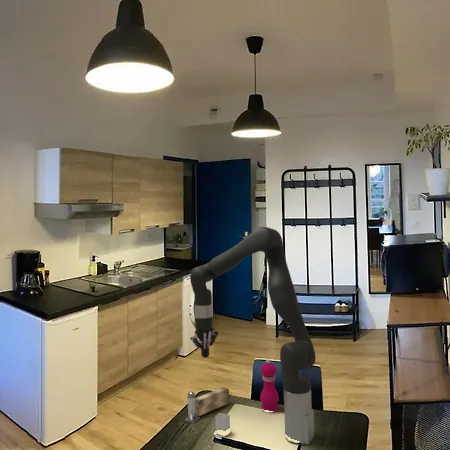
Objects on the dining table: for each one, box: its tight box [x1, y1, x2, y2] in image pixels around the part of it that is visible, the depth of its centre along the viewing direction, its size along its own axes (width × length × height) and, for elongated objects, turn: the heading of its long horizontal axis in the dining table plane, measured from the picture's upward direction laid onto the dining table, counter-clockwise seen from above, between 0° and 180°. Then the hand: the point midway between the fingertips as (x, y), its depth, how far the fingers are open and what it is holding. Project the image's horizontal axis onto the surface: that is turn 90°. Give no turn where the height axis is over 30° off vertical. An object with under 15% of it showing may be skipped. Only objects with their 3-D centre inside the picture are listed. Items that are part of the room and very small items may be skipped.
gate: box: [195, 386, 230, 417], centre depth 171 cm, size 15×3×6 cm, turn 130°
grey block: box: [214, 412, 231, 432], centre depth 154 cm, size 4×4×6 cm
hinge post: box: [184, 391, 201, 424], centre depth 164 cm, size 4×4×11 cm
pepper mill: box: [259, 358, 280, 412], centre depth 170 cm, size 7×7×20 cm
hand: (205, 357), depth 177 cm, fingers closed
